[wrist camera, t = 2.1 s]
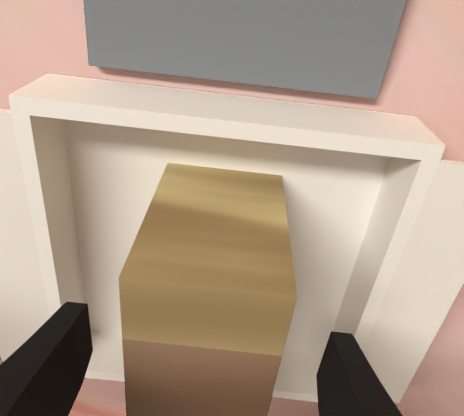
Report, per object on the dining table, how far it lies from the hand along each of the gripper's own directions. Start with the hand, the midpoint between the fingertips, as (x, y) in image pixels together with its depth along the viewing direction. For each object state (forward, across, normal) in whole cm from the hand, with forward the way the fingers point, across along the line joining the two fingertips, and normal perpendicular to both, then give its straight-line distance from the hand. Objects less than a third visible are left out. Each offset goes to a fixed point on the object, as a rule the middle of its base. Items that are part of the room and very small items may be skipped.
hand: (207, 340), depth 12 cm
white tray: (+5, 0, 0) cm, 5 cm away
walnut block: (+4, 0, 0) cm, 5 cm away
